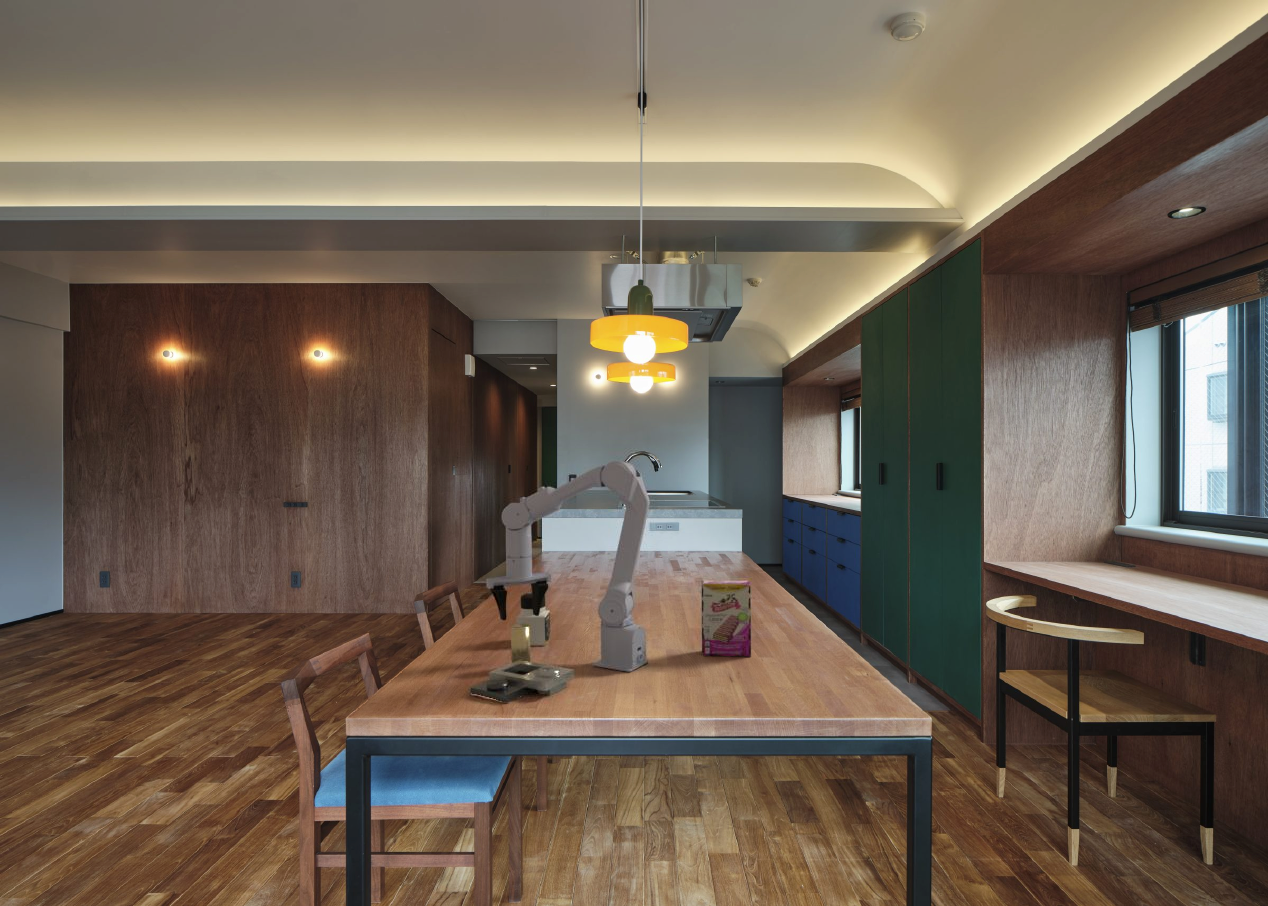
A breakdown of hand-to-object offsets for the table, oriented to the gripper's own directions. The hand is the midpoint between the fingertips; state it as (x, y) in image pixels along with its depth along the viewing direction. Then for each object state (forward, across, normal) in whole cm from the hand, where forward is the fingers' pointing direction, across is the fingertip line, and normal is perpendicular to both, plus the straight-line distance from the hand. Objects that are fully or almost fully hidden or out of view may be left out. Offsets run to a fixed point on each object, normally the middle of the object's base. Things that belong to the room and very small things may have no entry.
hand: (519, 617), depth 144 cm
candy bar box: (+10, -42, +21) cm, 48 cm away
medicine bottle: (+10, -8, -13) cm, 18 cm away
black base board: (+10, +7, +17) cm, 21 cm away
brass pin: (+10, +2, +6) cm, 11 cm away
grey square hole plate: (+10, +4, +18) cm, 21 cm away
